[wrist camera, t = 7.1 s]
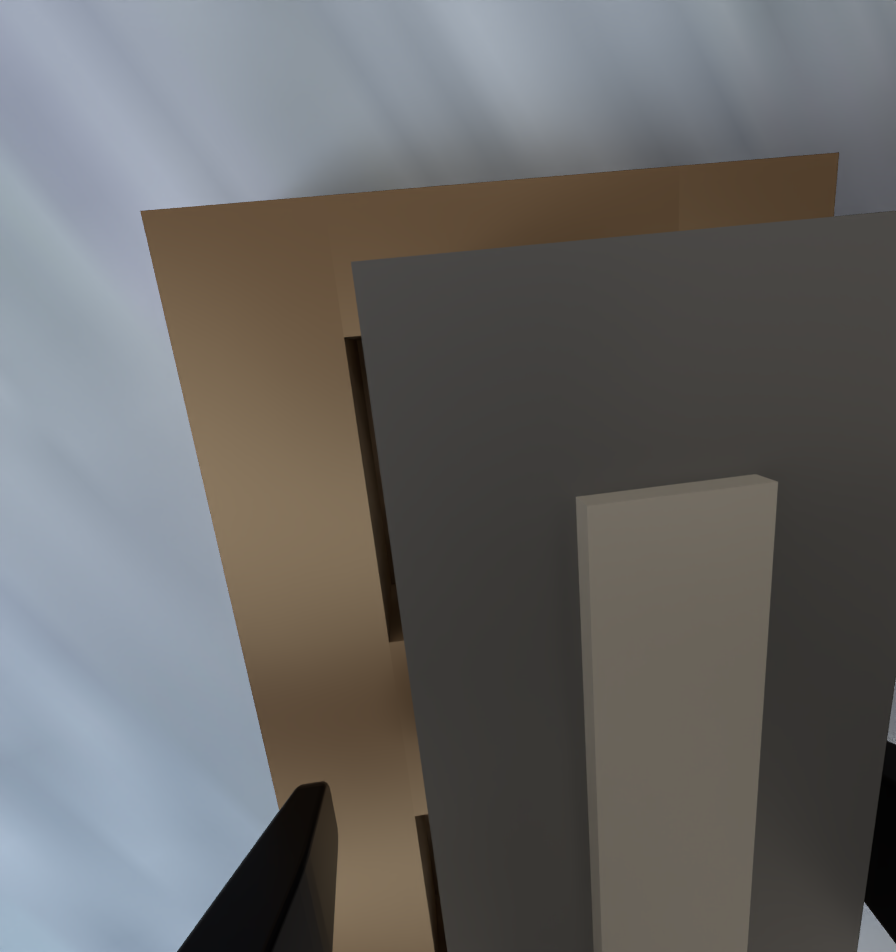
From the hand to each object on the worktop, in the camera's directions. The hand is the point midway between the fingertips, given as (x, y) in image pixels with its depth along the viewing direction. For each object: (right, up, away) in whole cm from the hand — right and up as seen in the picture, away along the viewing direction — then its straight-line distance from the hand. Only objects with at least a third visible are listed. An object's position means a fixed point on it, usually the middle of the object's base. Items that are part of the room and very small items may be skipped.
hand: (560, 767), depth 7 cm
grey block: (0, +1, +3) cm, 3 cm away
